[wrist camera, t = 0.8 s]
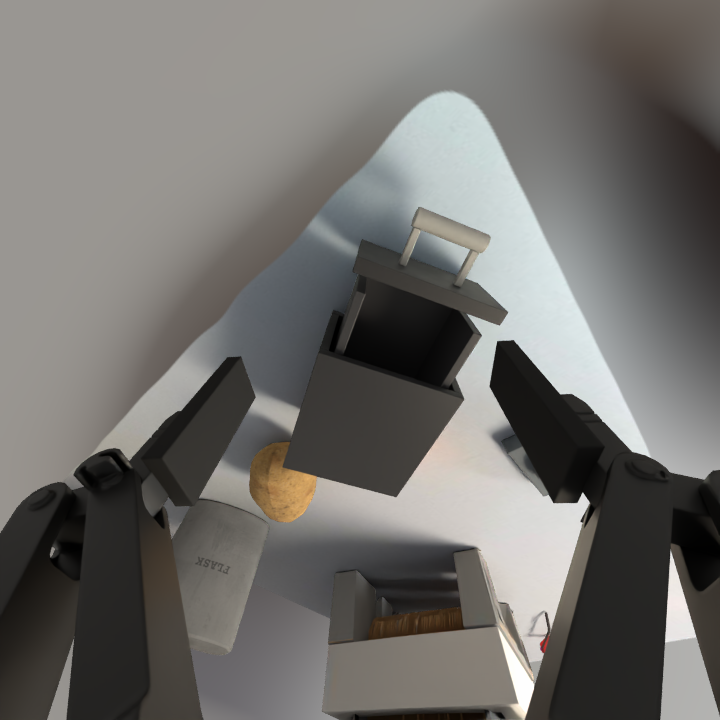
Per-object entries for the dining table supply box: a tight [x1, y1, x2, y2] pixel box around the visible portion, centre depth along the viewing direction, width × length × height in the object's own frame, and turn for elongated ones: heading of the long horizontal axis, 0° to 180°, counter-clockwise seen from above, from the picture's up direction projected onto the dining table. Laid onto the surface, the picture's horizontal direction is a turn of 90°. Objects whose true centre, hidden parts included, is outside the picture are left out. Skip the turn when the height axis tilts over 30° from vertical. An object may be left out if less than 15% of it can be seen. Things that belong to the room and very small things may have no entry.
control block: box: [502, 435, 549, 496], centre depth 40 cm, size 12×9×4 cm
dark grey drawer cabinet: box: [282, 311, 464, 497], centre depth 33 cm, size 16×14×10 cm
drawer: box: [332, 207, 508, 389], centre depth 27 cm, size 19×12×8 cm, turn 161°
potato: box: [249, 442, 317, 522], centre depth 42 cm, size 10×14×8 cm
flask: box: [172, 500, 269, 655], centre depth 46 cm, size 15×6×20 cm, turn 59°
